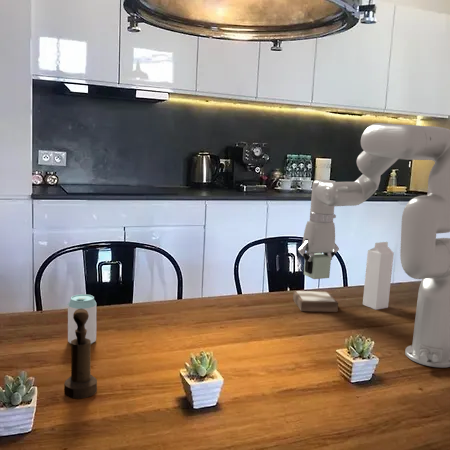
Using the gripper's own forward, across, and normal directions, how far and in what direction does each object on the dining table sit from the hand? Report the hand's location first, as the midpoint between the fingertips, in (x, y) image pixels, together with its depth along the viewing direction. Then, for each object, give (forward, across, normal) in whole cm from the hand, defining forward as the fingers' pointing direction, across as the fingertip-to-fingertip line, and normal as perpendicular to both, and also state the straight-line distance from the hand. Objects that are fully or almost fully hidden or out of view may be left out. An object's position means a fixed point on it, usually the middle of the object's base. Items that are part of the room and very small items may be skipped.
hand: (316, 271), depth 175 cm
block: (+2, 0, 0) cm, 2 cm away
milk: (+12, -20, +7) cm, 24 cm away
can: (+12, +77, +8) cm, 79 cm away
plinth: (+12, 0, 0) cm, 12 cm away
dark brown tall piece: (+12, +82, +34) cm, 90 cm away
